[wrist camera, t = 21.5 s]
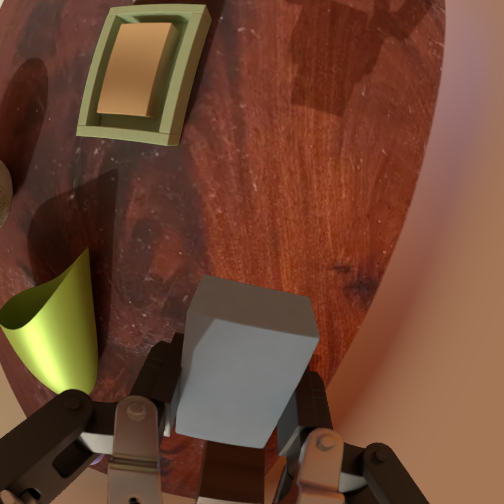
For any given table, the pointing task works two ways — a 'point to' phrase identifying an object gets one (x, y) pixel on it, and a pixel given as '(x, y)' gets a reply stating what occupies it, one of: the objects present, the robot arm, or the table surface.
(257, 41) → the table surface
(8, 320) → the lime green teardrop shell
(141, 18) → the olive green tray
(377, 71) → the table surface
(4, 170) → the decorative object
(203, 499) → the stand
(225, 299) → the rubber pad
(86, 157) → the table surface
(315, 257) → the table surface
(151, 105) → the birch pad
